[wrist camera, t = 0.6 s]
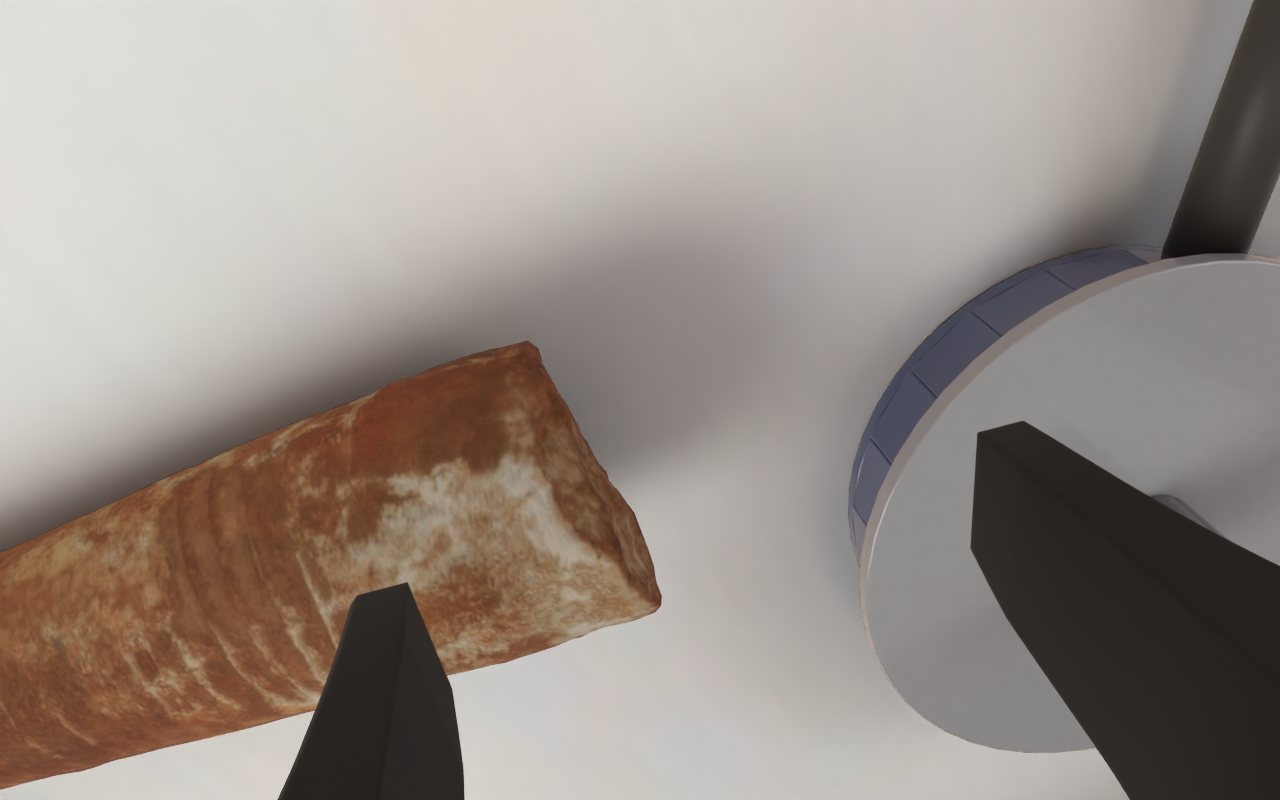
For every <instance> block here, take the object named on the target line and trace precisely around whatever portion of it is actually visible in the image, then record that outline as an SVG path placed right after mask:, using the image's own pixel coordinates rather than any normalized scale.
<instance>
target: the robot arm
mask: <svg viewBox="0 0 1280 800" xmlns="http://www.w3.org/2000/svg"><path fill="white" fill-rule="evenodd" d="M970 549H971V551H972V553H973V555H974V557H975V559H976V561H977V563H978V565H979V567H980V569H981V571H982V573H983V575H984V577H985V579H986V581H987V583H988V585H989V587H990V588H991V590H992V592H993V594H994V596H995V598H996V600H997V602H998V603H999V605H1000V607H1001V609H1002V611H1003V613H1004V615H1005V616H1006V618H1007V620H1008V621H1009V623H1010V624H1011V626H1012V627H1013V629H1014V630H1015V632H1016V633H1017V635H1018V636H1019V637H1020V639H1021V640H1022V642H1023V643H1024V645H1025V646H1026V648H1027V649H1028V651H1029V652H1030V653H1031V655H1032V656H1033V658H1034V659H1035V661H1036V662H1037V664H1038V665H1039V667H1040V668H1041V669H1042V671H1043V672H1044V674H1045V675H1046V677H1047V678H1048V679H1049V681H1050V682H1051V684H1052V685H1053V687H1054V688H1055V690H1056V691H1057V692H1058V694H1059V695H1060V697H1061V698H1062V700H1063V701H1064V702H1065V704H1066V705H1067V707H1068V708H1069V710H1070V711H1071V712H1072V714H1073V715H1074V717H1075V718H1076V720H1077V721H1078V722H1079V724H1080V725H1081V727H1082V728H1083V730H1084V731H1085V732H1086V734H1087V735H1088V737H1089V738H1090V740H1091V741H1092V742H1093V744H1094V745H1095V747H1096V748H1097V750H1098V751H1099V753H1100V754H1101V755H1102V757H1103V758H1104V760H1105V761H1106V763H1107V764H1108V766H1109V767H1110V769H1111V770H1112V772H1113V773H1114V775H1115V777H1116V778H1117V780H1118V781H1119V783H1120V784H1121V786H1122V787H1123V789H1124V791H1125V792H1126V794H1127V795H1128V797H1129V799H1130V800H1280V566H1279V565H1277V564H1275V563H1273V562H1271V561H1269V560H1267V559H1265V558H1263V557H1261V556H1259V555H1257V554H1255V553H1253V552H1251V551H1249V550H1247V549H1245V548H1243V547H1241V546H1239V545H1237V544H1235V543H1233V542H1231V541H1229V540H1228V539H1226V538H1224V537H1222V536H1220V535H1218V534H1216V533H1214V532H1212V531H1210V530H1209V529H1207V528H1205V527H1203V526H1201V525H1199V524H1197V523H1196V522H1194V521H1192V520H1190V519H1188V518H1187V517H1185V516H1183V515H1181V514H1179V513H1178V512H1176V511H1174V510H1172V509H1171V508H1169V507H1167V506H1165V505H1164V504H1162V503H1160V502H1158V501H1157V500H1155V499H1153V498H1151V497H1150V496H1148V495H1146V494H1145V493H1143V492H1141V491H1139V490H1138V489H1136V488H1134V487H1133V486H1131V485H1129V484H1128V483H1126V482H1124V481H1123V480H1121V479H1119V478H1118V477H1116V476H1114V475H1113V474H1111V473H1109V472H1108V471H1106V470H1104V469H1103V468H1101V467H1099V466H1098V465H1096V464H1094V463H1093V462H1091V461H1090V460H1088V459H1086V458H1085V457H1083V456H1081V455H1080V454H1078V453H1077V452H1075V451H1073V450H1072V449H1070V448H1068V447H1067V446H1065V445H1064V444H1062V443H1060V442H1059V441H1057V440H1055V439H1054V438H1052V437H1050V436H1049V435H1047V434H1045V433H1044V432H1042V431H1040V430H1039V429H1037V428H1035V427H1034V426H1032V425H1030V424H1029V423H1027V422H1025V421H1019V422H1016V423H1012V424H1008V425H1004V426H1000V427H997V428H993V429H989V430H985V431H981V432H977V446H976V462H975V479H974V495H973V512H972V528H971V545H970ZM278 800H464V775H463V763H462V755H461V748H460V740H459V733H458V726H457V719H456V712H455V706H454V699H453V692H452V688H451V685H450V683H449V680H448V678H447V676H446V673H445V671H444V668H443V666H442V664H441V661H440V659H439V656H438V654H437V652H436V649H435V647H434V644H433V642H432V640H431V637H430V635H429V632H428V630H427V628H426V625H425V623H424V620H423V618H422V616H421V613H420V611H419V608H418V606H417V604H416V601H415V599H414V596H413V594H412V592H411V589H410V587H409V584H408V582H406V583H402V584H398V585H394V586H390V587H387V588H383V589H379V590H375V591H371V592H368V593H364V594H360V595H357V596H356V598H355V599H354V600H353V602H352V603H351V605H350V608H349V612H348V615H347V619H346V622H345V625H344V629H343V632H342V635H341V638H340V641H339V645H338V648H337V651H336V654H335V657H334V660H333V663H332V666H331V669H330V671H329V674H328V677H327V680H326V683H325V685H324V688H323V691H322V694H321V697H320V699H319V702H318V704H317V707H316V710H315V712H314V715H313V717H312V720H311V722H310V725H309V727H308V730H307V732H306V735H305V737H304V740H303V742H302V745H301V747H300V750H299V753H298V755H297V757H296V760H295V762H294V765H293V767H292V769H291V772H290V774H289V776H288V778H287V780H286V782H285V785H284V787H283V789H282V791H281V793H280V796H279V798H278Z"/></svg>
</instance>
